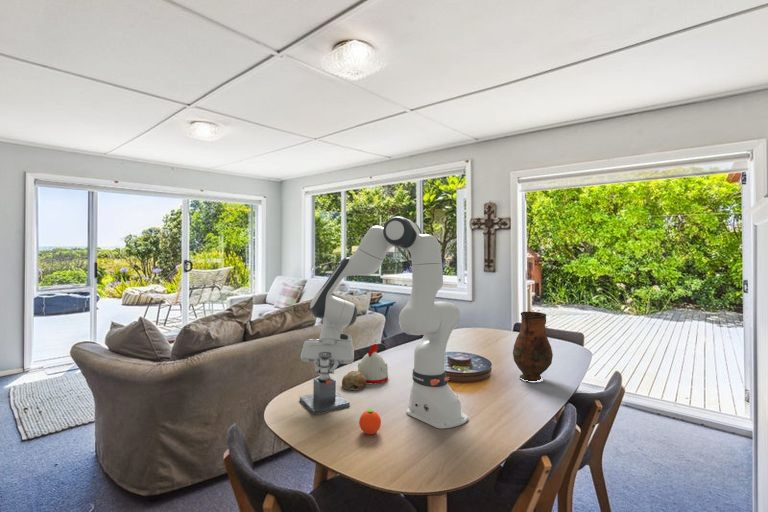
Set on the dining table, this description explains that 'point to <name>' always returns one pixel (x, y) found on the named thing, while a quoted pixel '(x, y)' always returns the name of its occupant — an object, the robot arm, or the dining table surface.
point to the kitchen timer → (373, 367)
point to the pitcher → (532, 346)
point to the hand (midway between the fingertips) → (324, 372)
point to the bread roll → (354, 380)
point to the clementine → (370, 422)
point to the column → (324, 366)
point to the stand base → (324, 398)
